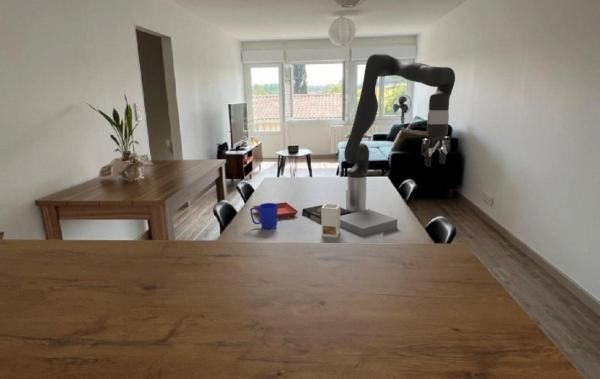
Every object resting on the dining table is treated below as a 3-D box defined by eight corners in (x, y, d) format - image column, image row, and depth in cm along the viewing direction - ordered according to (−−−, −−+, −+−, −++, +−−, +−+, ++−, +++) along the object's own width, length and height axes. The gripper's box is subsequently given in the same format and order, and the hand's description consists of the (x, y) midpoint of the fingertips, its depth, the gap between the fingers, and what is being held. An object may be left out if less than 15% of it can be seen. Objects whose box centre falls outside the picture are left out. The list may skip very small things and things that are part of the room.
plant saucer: (286, 207, 196) (286, 201, 195) (298, 217, 179) (298, 211, 179) (252, 212, 190) (252, 205, 189) (262, 222, 173) (262, 216, 172)
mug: (251, 224, 170) (250, 203, 167) (278, 223, 171) (277, 202, 168) (250, 231, 162) (249, 209, 159) (278, 229, 163) (277, 207, 160)
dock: (334, 225, 166) (334, 217, 165) (368, 217, 176) (368, 209, 175) (362, 238, 151) (362, 228, 150) (397, 228, 162) (397, 219, 161)
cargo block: (325, 235, 152) (325, 226, 151) (327, 232, 156) (327, 222, 155) (334, 236, 151) (334, 226, 150) (336, 232, 155) (336, 223, 154)
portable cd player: (301, 216, 181) (301, 209, 180) (331, 211, 189) (331, 203, 188) (319, 226, 167) (319, 218, 166) (350, 219, 175) (350, 211, 174)
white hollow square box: (321, 238, 152) (321, 207, 149) (325, 233, 158) (325, 203, 155) (337, 239, 150) (337, 208, 147) (340, 234, 156) (340, 204, 153)
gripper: (441, 120, 148) (438, 161, 152) (417, 123, 141) (414, 165, 144) (458, 121, 142) (454, 164, 146) (433, 124, 134) (430, 168, 138)
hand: (434, 164), depth 145 cm, fingers open, 8 cm apart
